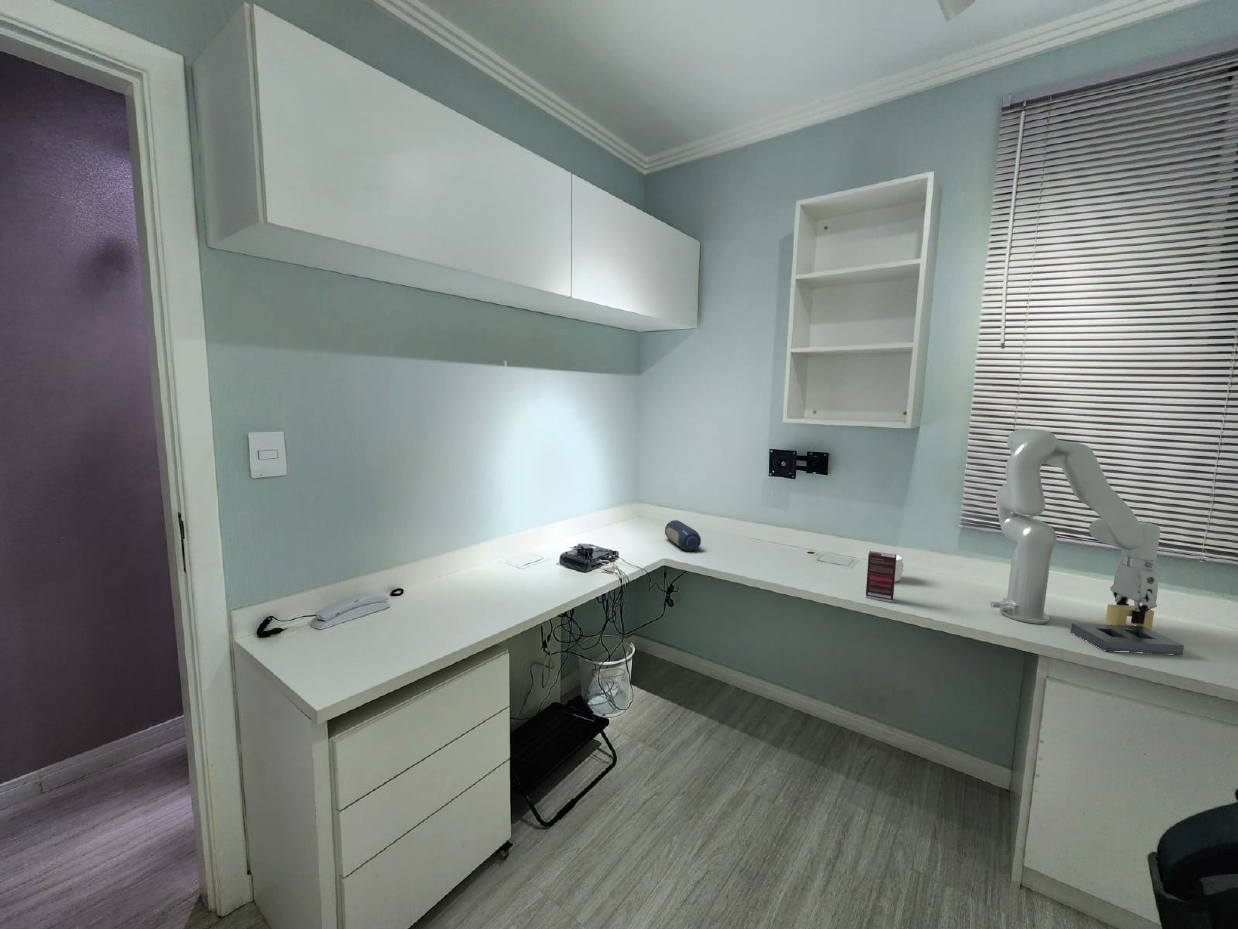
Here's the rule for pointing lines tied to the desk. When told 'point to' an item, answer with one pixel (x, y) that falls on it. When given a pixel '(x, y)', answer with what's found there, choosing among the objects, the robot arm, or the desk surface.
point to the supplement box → (881, 576)
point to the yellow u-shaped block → (1120, 613)
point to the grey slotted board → (1126, 638)
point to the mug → (898, 568)
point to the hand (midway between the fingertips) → (1129, 618)
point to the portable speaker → (682, 535)
